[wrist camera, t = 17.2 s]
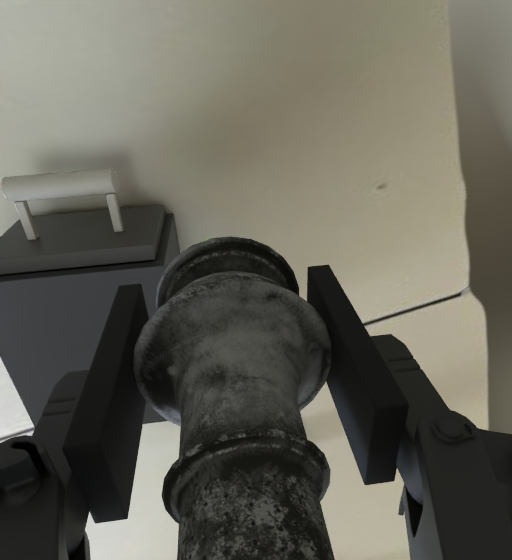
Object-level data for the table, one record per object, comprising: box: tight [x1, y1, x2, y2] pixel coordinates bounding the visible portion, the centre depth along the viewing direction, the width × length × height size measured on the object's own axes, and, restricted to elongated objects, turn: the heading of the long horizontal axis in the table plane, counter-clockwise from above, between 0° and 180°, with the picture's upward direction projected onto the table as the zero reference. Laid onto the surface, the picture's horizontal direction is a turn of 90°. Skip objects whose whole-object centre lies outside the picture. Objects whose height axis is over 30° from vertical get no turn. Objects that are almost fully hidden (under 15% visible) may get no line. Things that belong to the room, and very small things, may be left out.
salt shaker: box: [133, 237, 335, 560], centre depth 10 cm, size 6×6×12 cm
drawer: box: [0, 168, 165, 275], centre depth 32 cm, size 18×11×8 cm, turn 3°
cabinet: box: [0, 214, 180, 428], centre depth 34 cm, size 15×13×10 cm
